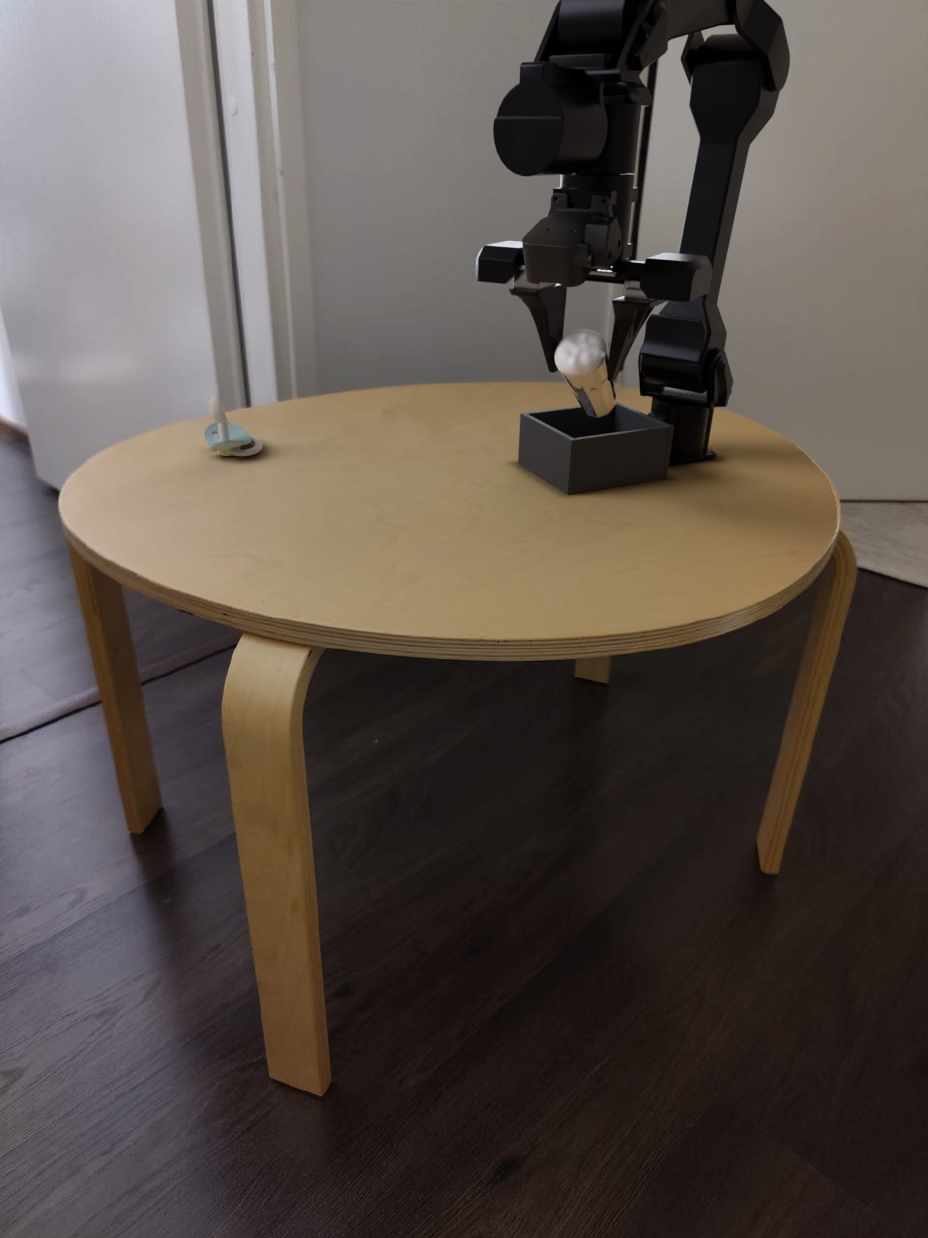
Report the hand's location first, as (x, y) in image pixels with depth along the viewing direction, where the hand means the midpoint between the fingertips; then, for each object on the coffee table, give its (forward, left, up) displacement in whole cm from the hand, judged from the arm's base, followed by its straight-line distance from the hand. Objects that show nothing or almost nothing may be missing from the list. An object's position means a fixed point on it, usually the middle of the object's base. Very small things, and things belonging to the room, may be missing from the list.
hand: (581, 375), depth 75 cm
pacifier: (+25, -30, -13) cm, 41 cm away
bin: (-8, -9, -13) cm, 18 cm away
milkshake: (-5, -3, -4) cm, 7 cm away
